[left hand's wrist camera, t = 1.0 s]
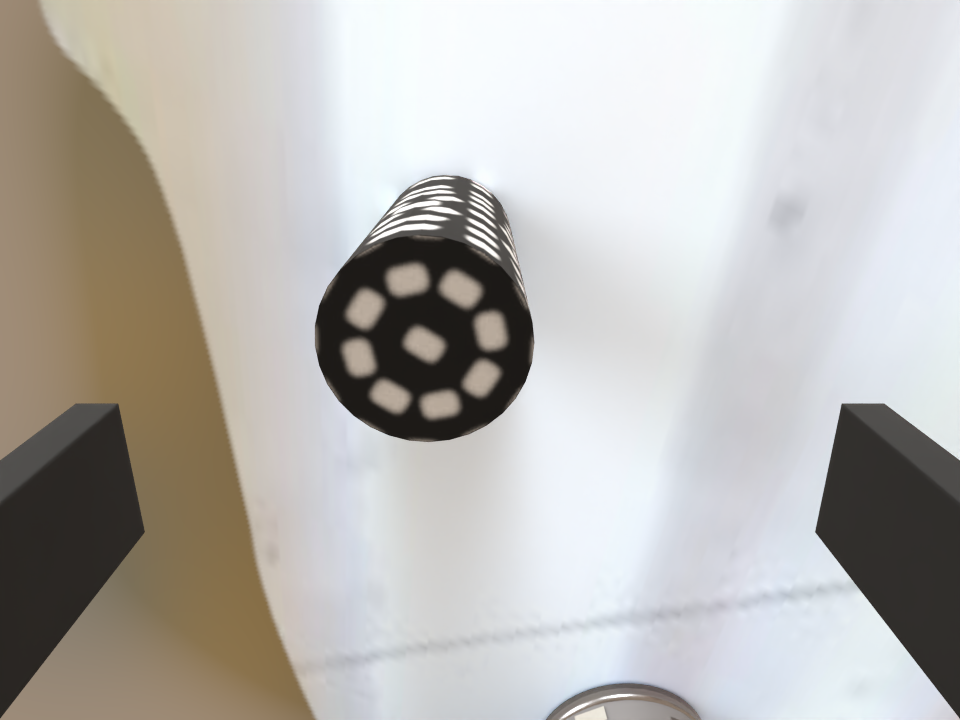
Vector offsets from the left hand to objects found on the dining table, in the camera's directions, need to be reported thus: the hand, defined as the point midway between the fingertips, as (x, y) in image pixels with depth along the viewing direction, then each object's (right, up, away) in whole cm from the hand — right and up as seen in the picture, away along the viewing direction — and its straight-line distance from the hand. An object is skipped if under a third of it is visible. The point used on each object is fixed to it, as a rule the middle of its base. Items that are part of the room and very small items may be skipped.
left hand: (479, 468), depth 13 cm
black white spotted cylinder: (-2, +6, +23) cm, 23 cm away
